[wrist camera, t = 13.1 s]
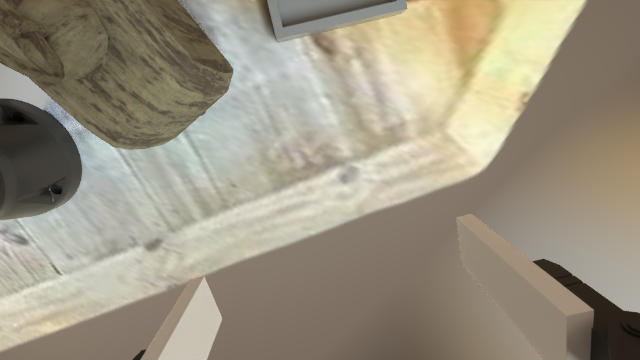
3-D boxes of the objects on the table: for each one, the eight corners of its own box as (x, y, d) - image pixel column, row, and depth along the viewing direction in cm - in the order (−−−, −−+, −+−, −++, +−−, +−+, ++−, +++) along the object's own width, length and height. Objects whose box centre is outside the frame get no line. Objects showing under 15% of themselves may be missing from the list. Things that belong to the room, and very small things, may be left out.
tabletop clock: (114, 33, 35) (-299, -79, 11) (167, -21, 34) (-181, -283, 10) (202, 129, 39) (29, 196, 15) (253, 83, 37) (153, 78, 13)
